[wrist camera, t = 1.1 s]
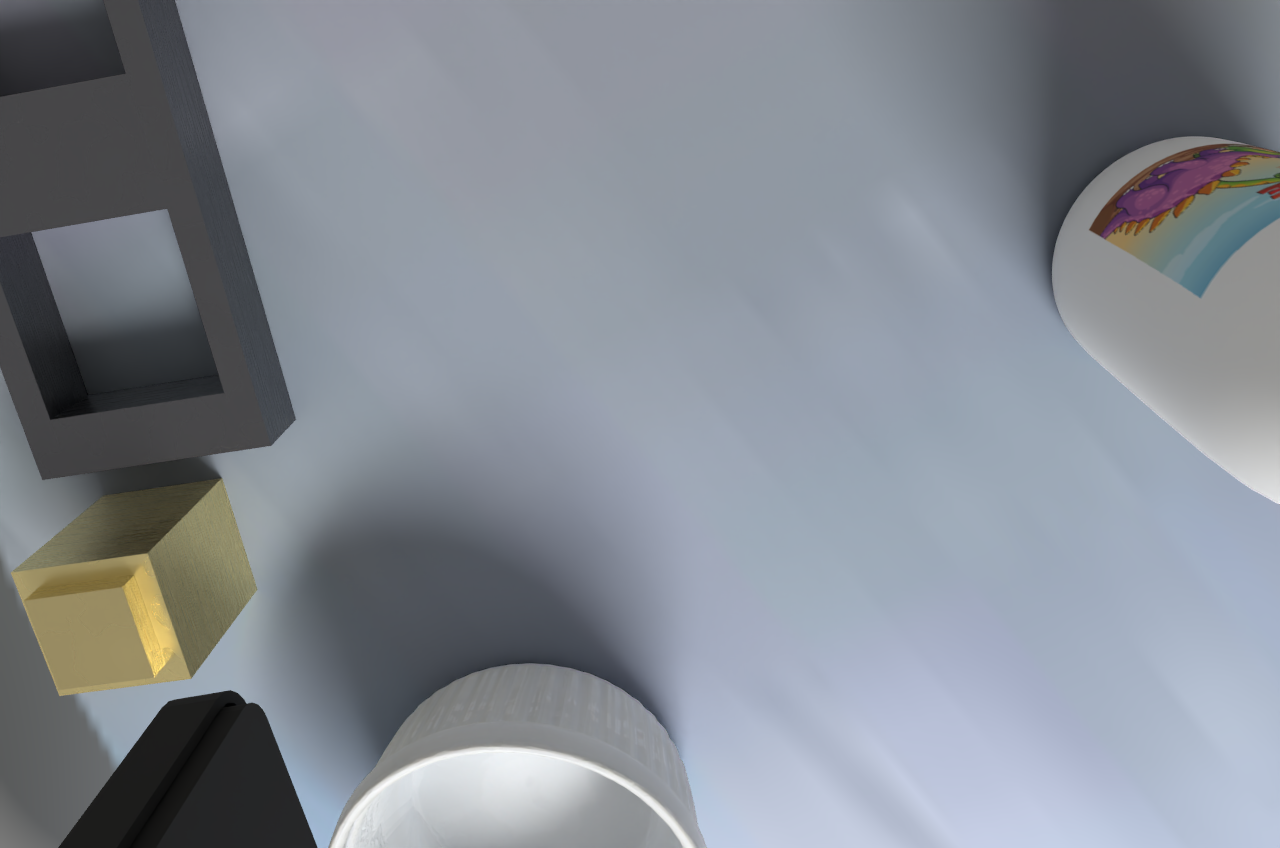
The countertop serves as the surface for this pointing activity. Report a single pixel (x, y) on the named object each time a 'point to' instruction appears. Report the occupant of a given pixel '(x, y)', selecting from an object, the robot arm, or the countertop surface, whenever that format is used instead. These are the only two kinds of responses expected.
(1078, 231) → the milk bottle
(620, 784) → the ramekin
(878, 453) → the countertop surface
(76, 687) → the yellow rectangular block
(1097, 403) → the countertop surface
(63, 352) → the grey board with holes
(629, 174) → the countertop surface
